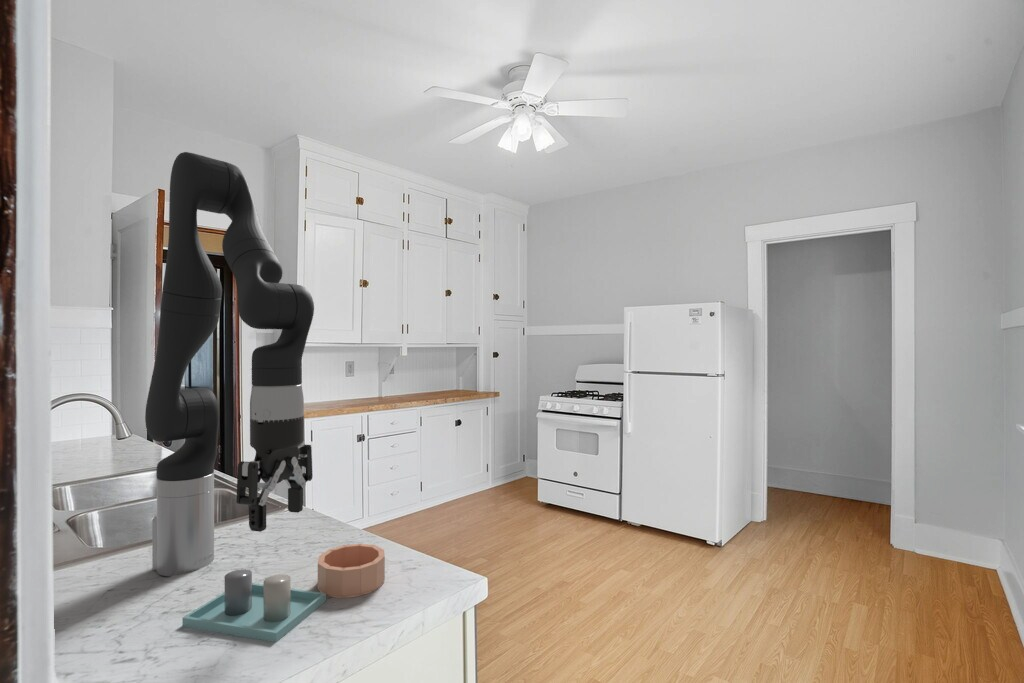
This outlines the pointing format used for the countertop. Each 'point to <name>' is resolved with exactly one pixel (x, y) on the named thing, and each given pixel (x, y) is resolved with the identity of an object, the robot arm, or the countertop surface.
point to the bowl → (351, 570)
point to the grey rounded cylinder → (238, 592)
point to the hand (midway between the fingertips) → (277, 520)
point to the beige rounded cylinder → (276, 598)
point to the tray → (254, 615)
